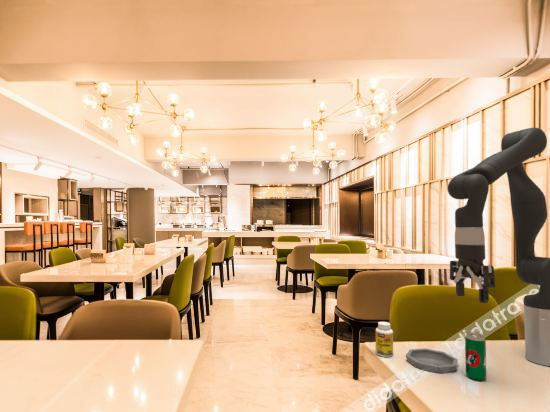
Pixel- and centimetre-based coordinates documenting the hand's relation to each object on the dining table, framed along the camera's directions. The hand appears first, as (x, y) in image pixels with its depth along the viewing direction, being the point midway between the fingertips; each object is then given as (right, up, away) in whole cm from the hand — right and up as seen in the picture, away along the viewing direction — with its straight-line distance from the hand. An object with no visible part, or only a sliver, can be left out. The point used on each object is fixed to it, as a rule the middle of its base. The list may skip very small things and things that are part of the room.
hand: (471, 299), depth 95 cm
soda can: (0, -22, -2) cm, 22 cm away
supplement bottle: (-21, -23, +14) cm, 34 cm away
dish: (-8, -22, +8) cm, 25 cm away
